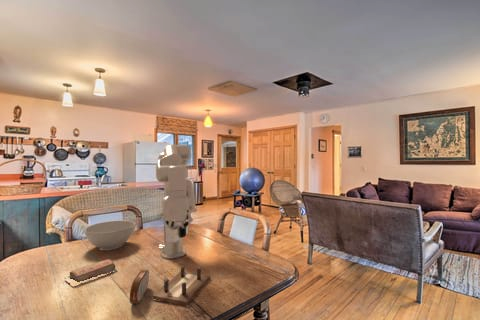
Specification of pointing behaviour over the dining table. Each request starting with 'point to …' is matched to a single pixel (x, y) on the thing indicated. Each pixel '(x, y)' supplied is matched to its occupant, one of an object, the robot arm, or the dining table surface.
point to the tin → (139, 286)
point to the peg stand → (182, 287)
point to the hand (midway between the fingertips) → (177, 236)
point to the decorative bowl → (110, 233)
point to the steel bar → (174, 233)
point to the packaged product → (92, 270)
